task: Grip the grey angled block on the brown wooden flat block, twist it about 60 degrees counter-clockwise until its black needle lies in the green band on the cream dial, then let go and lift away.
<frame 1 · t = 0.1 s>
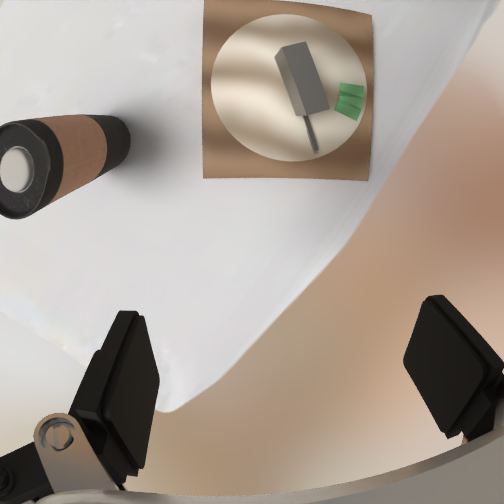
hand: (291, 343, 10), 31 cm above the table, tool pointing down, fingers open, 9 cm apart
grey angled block: (306, 101, 28), point 7 cm above the table, hinge at 0.0°
brown wooden flat block: (287, 87, 34), on the table
travel mug: (106, 142, 35), on the table
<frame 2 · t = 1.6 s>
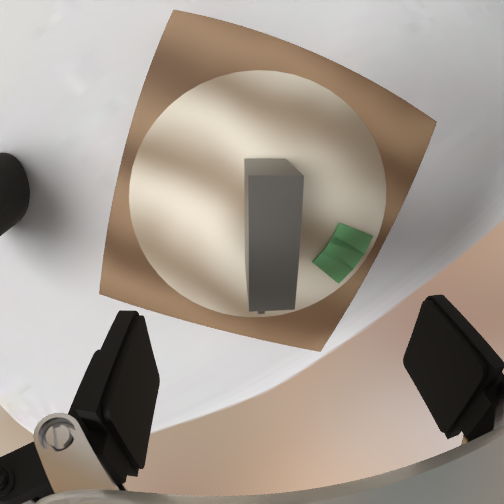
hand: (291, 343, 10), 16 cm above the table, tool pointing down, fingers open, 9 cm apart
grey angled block: (266, 262, 18), point 7 cm above the table, hinge at 0.0°
brown wooden flat block: (258, 193, 23), on the table
travel mug: (5, 188, 21), on the table
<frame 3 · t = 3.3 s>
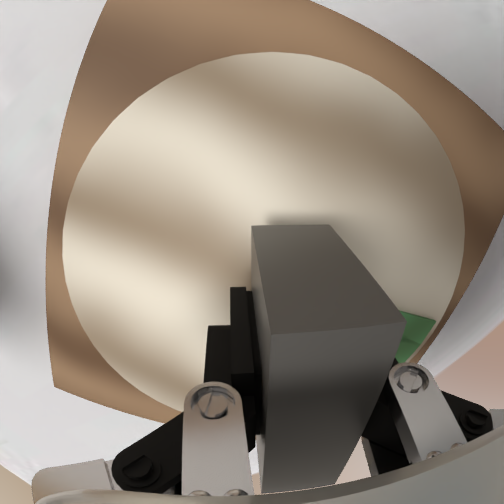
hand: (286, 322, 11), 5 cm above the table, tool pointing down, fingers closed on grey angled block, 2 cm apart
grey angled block: (289, 401, 10), point 7 cm above the table, hinge at 0.0°, touching gripper
brown wooden flat block: (269, 258, 15), on the table
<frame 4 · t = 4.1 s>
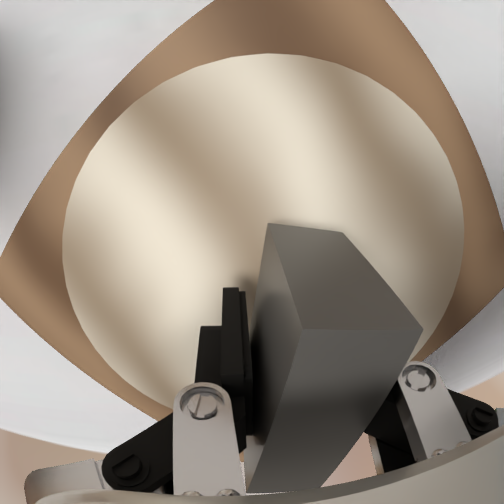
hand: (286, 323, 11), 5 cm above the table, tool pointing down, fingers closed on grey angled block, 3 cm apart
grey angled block: (280, 402, 10), point 7 cm above the table, hinge at 21.0°, touching gripper
brown wooden flat block: (269, 259, 15), on the table
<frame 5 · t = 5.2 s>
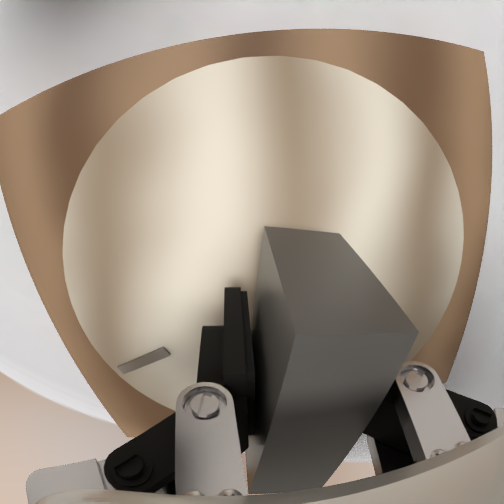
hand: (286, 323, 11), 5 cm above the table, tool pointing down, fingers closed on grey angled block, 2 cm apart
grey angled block: (281, 403, 10), point 7 cm above the table, hinge at 55.2°, touching gripper
brown wooden flat block: (269, 261, 15), on the table
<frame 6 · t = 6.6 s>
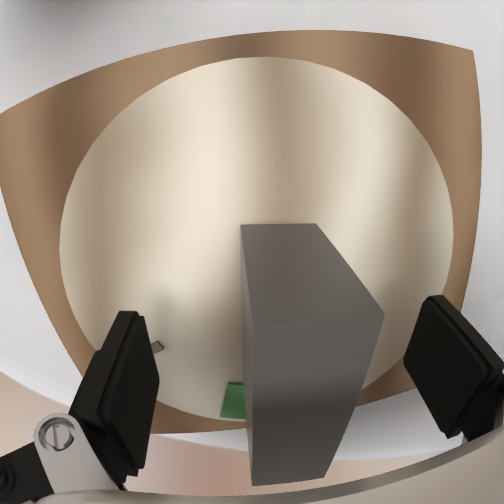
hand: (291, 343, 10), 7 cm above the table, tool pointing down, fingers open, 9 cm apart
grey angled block: (279, 395, 10), point 7 cm above the table, hinge at 61.8°
brown wooden flat block: (261, 257, 16), on the table
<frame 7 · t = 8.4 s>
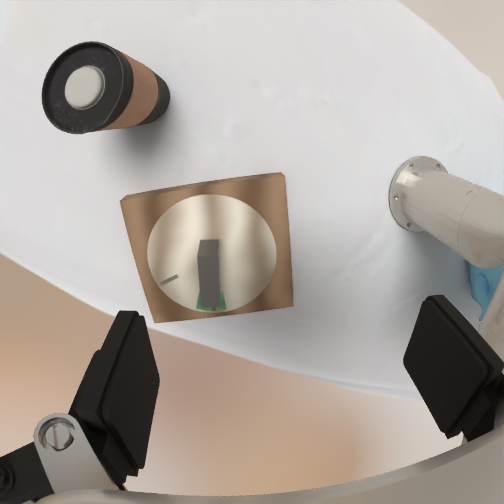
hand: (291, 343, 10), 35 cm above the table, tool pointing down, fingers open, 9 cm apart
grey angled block: (211, 286, 40), point 7 cm above the table, hinge at 63.2°
teakettle: (483, 258, 51), on the table
brown wooden flat block: (212, 248, 46), on the table
travel mug: (144, 98, 36), on the table
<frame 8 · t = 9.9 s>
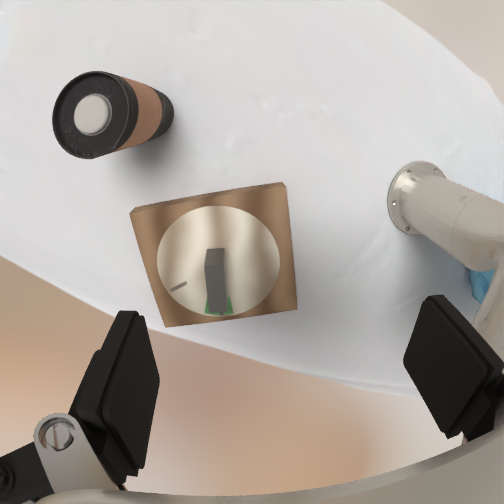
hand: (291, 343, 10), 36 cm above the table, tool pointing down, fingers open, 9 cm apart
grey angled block: (218, 292, 43), point 7 cm above the table, hinge at 63.3°
teakettle: (483, 257, 52), on the table
brown wooden flat block: (218, 256, 48), on the table
travel mug: (149, 114, 39), on the table
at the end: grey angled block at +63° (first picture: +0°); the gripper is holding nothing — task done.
